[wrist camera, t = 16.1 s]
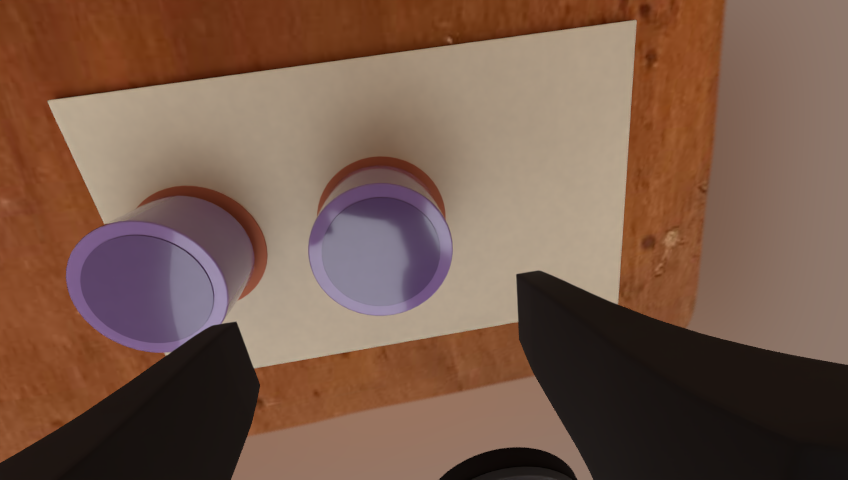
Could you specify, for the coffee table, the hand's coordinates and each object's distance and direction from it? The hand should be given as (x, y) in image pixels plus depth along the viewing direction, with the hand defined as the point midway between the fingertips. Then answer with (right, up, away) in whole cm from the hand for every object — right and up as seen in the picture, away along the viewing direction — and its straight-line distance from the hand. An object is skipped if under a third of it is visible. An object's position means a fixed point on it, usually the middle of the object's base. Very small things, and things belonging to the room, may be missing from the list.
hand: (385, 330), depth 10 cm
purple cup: (-1, +3, +8) cm, 9 cm away
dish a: (-9, +2, +8) cm, 12 cm away
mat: (-1, +3, +9) cm, 9 cm away
